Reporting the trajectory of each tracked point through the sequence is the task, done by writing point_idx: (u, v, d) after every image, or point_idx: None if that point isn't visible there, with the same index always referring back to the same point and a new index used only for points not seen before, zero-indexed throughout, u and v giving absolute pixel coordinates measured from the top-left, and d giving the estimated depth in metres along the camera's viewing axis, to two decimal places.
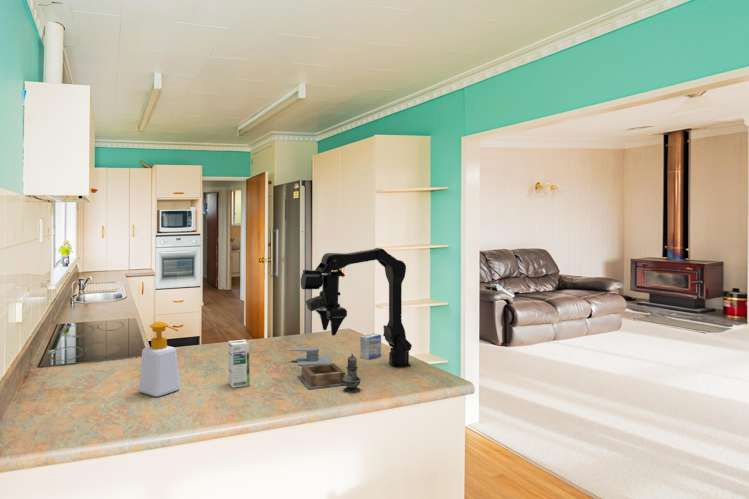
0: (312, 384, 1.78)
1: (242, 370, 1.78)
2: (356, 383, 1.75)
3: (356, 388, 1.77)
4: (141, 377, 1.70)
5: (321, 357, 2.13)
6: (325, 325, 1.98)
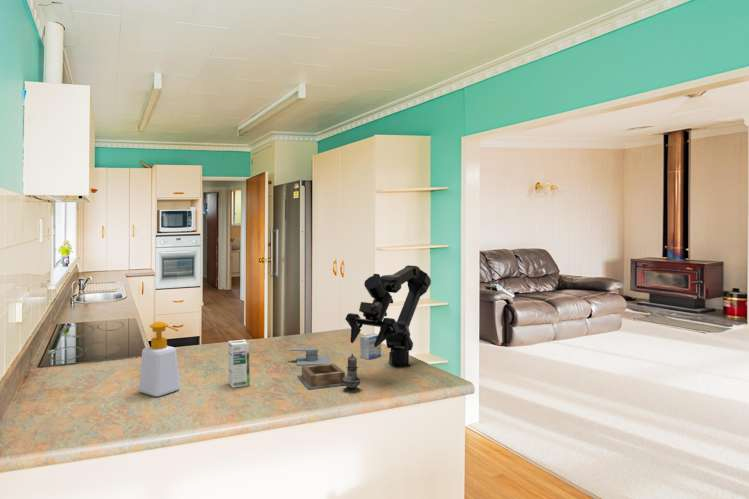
0: (312, 384, 1.78)
1: (242, 370, 1.78)
2: (356, 383, 1.75)
3: (356, 388, 1.77)
4: (141, 377, 1.70)
5: (321, 357, 2.13)
6: (353, 338, 1.86)
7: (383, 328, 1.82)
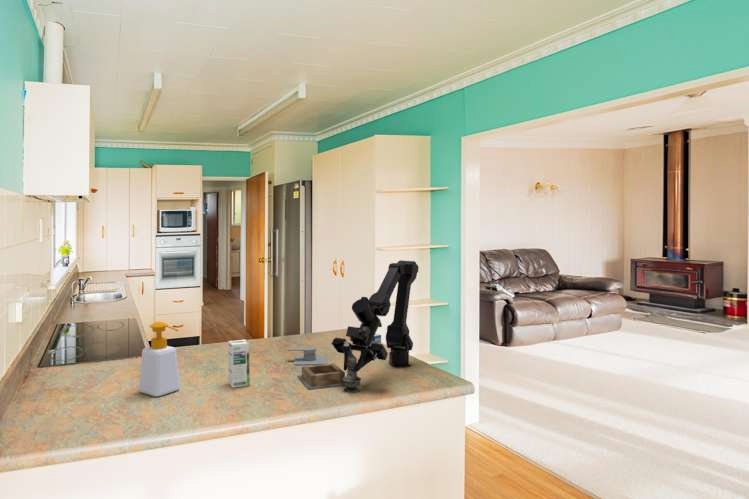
0: (312, 384, 1.78)
1: (242, 370, 1.78)
2: (356, 383, 1.75)
3: (356, 388, 1.77)
4: (141, 377, 1.70)
5: (319, 357, 2.13)
6: (347, 365, 1.77)
7: (364, 353, 1.76)
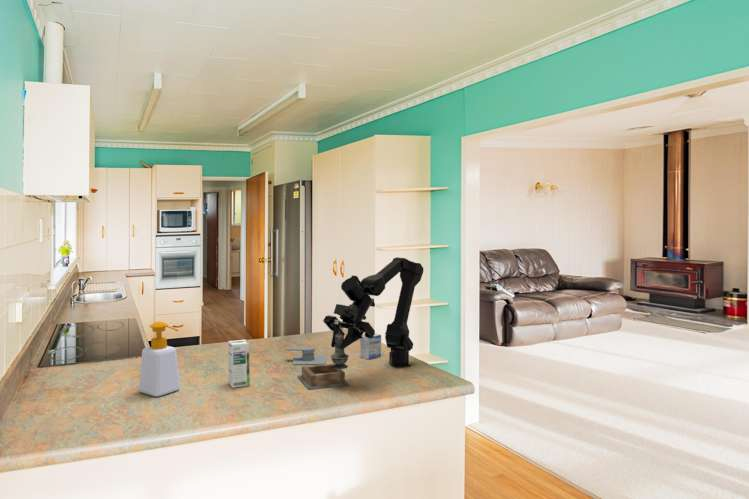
0: (312, 384, 1.78)
1: (242, 370, 1.78)
2: (342, 360, 1.77)
3: (344, 365, 1.79)
4: (141, 377, 1.70)
5: (318, 357, 2.13)
6: None
7: (350, 330, 1.78)
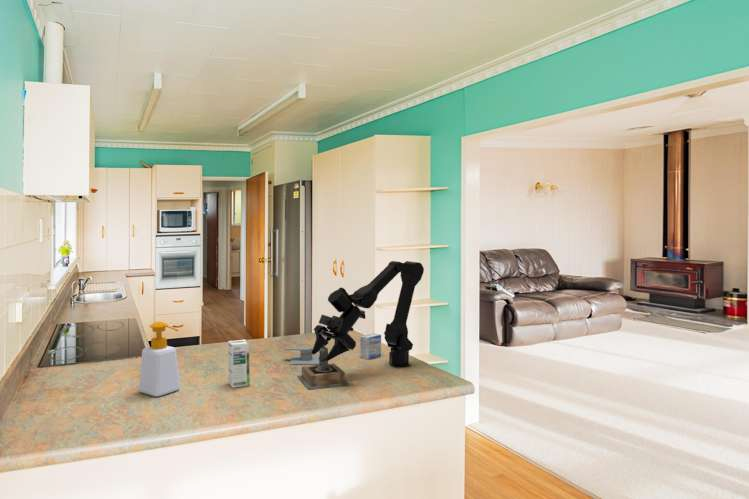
0: (312, 384, 1.78)
1: (242, 370, 1.78)
2: None
3: None
4: (141, 377, 1.70)
5: (316, 357, 2.14)
6: (315, 350, 1.89)
7: (336, 342, 1.81)
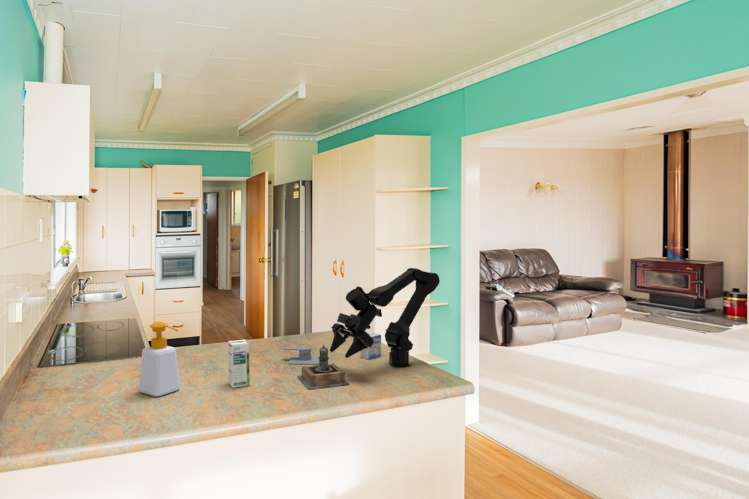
0: (312, 384, 1.78)
1: (242, 370, 1.78)
2: None
3: None
4: (141, 377, 1.70)
5: (315, 357, 2.14)
6: (334, 348, 1.93)
7: (355, 340, 1.85)
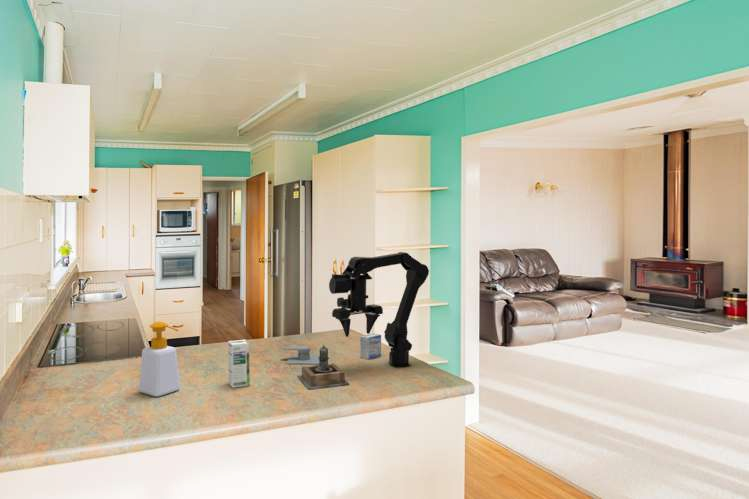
0: (312, 384, 1.78)
1: (242, 370, 1.78)
2: None
3: None
4: (141, 377, 1.70)
5: (314, 357, 2.14)
6: (367, 329, 2.00)
7: None
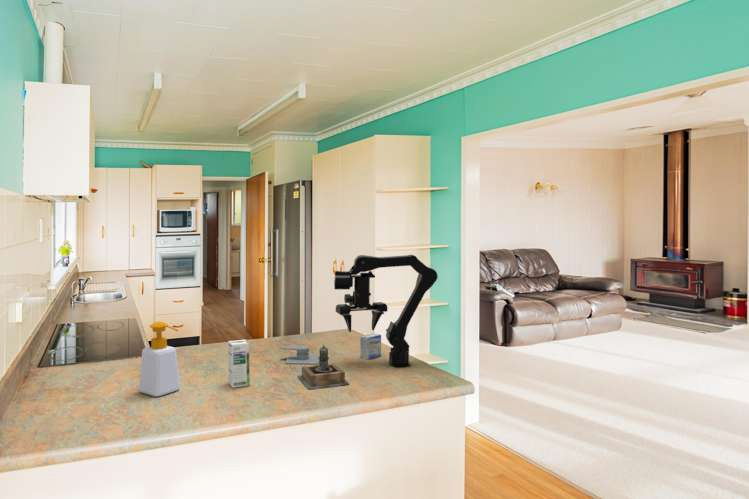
0: (312, 384, 1.78)
1: (242, 370, 1.78)
2: None
3: None
4: (141, 377, 1.70)
5: (313, 357, 2.14)
6: (372, 325, 2.06)
7: None
